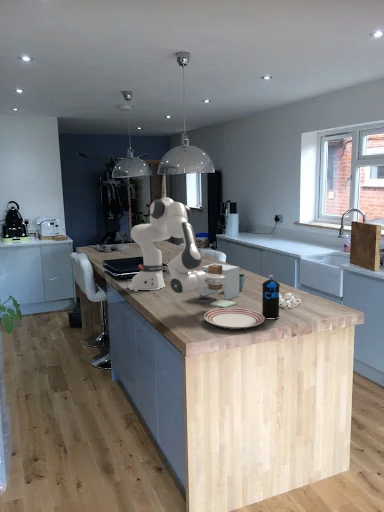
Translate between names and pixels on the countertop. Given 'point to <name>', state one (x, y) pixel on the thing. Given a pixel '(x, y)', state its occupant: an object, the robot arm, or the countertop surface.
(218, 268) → the walnut block
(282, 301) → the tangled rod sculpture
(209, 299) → the trap pit
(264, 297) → the aerosol can
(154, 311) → the countertop surface
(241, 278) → the flower pot
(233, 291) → the tunnel
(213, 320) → the dinner plate
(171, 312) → the countertop surface
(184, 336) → the countertop surface
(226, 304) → the tile
